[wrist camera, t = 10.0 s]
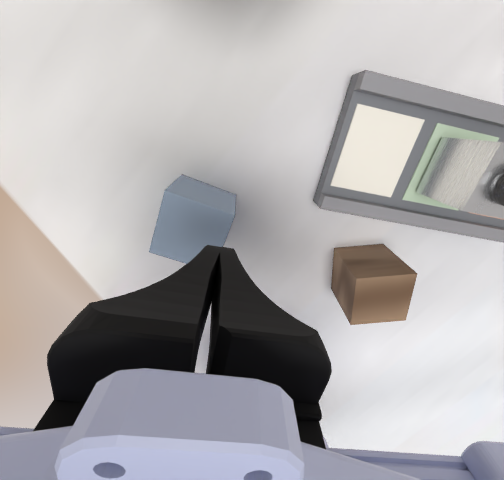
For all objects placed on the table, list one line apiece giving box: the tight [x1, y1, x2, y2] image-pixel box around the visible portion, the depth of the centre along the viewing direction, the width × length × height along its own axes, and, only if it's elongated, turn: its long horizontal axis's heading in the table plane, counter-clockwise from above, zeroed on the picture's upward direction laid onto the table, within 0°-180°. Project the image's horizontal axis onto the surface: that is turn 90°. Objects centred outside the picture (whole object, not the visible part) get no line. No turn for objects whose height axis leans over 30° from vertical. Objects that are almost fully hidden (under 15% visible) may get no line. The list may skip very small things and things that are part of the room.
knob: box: [416, 137, 504, 219], centre depth 17 cm, size 4×4×5 cm
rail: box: [313, 70, 504, 242], centre depth 19 cm, size 9×18×2 cm, turn 79°
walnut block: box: [331, 244, 417, 325], centre depth 22 cm, size 4×4×5 cm
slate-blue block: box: [149, 175, 236, 264], centre depth 19 cm, size 4×4×5 cm
